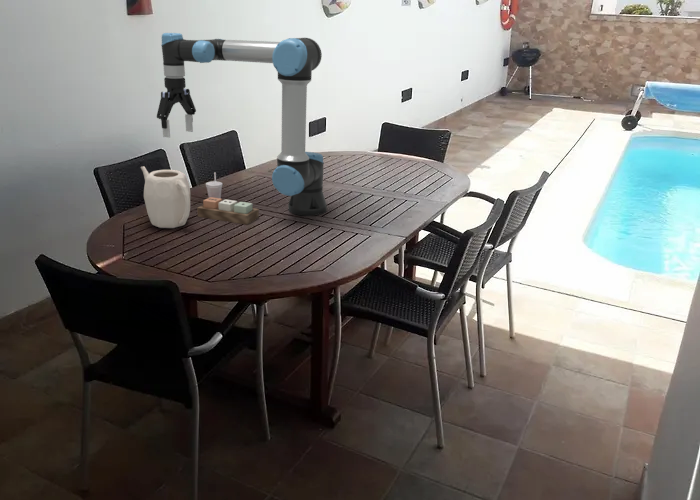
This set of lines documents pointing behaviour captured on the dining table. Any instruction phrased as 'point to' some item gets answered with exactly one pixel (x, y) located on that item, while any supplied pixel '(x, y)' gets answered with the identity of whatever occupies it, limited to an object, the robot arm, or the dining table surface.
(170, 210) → the watering can
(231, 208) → the white square block
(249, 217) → the button board
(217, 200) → the orange square block
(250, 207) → the pale green block
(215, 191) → the smoothie
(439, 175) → the dining table surface
